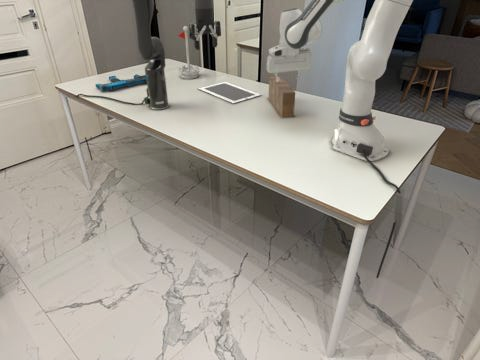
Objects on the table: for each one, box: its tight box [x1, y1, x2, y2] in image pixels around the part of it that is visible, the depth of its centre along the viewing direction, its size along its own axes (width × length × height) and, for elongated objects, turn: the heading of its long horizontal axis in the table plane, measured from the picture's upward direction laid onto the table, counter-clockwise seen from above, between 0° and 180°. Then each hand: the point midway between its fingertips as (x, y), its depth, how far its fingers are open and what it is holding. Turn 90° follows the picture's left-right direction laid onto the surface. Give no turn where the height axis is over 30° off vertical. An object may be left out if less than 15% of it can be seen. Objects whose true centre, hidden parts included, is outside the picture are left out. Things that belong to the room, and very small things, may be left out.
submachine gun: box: [94, 74, 147, 92], centre depth 207 cm, size 34×4×25 cm
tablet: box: [197, 81, 262, 105], centre depth 193 cm, size 32×20×1 cm, turn 41°
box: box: [268, 75, 296, 119], centre depth 171 cm, size 27×6×12 cm, turn 10°
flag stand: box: [177, 25, 200, 80], centre depth 211 cm, size 13×13×30 cm
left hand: (206, 48), depth 147 cm, fingers open, 8 cm apart
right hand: (288, 80), depth 156 cm, fingers open, 8 cm apart
